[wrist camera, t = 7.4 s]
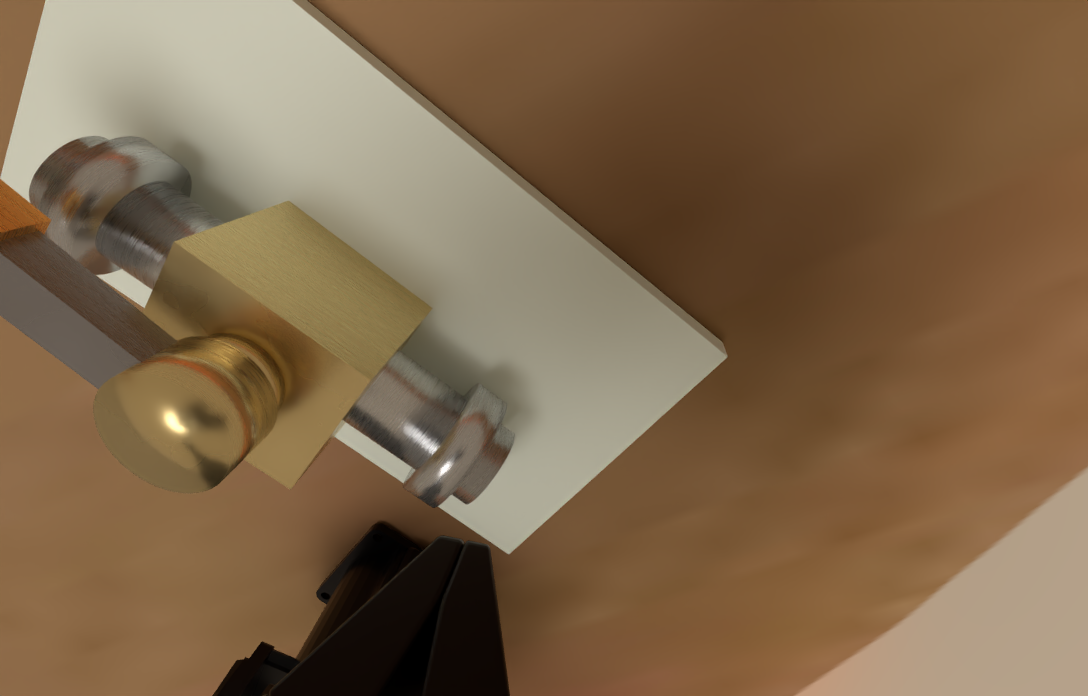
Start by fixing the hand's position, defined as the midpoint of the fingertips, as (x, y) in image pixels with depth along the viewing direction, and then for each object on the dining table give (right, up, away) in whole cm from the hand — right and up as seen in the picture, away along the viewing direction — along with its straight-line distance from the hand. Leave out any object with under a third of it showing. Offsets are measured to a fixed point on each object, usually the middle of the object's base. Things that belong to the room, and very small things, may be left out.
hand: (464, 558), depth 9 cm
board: (-6, +6, +12) cm, 15 cm away
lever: (-10, +5, +5) cm, 13 cm away
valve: (-7, +5, +12) cm, 14 cm away
